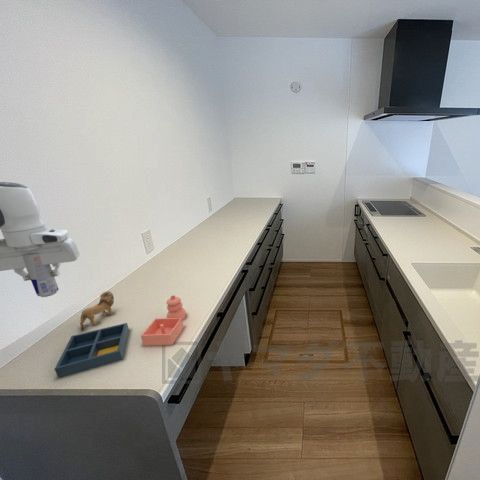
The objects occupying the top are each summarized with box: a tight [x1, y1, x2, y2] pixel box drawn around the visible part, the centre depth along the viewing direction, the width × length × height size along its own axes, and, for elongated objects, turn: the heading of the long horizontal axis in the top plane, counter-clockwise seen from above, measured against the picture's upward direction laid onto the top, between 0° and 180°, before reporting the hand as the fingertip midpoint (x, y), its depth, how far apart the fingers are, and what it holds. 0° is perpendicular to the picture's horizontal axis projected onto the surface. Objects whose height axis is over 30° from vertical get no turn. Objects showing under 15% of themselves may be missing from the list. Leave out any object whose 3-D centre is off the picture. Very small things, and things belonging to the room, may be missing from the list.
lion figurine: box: [79, 290, 115, 332], centre depth 100 cm, size 15×5×9 cm, turn 175°
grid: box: [54, 322, 130, 379], centre depth 85 cm, size 15×15×4 cm
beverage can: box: [22, 253, 59, 298], centre depth 83 cm, size 5×5×15 cm
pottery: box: [140, 294, 187, 346], centre depth 96 cm, size 18×10×10 cm, turn 3°
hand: (42, 277), depth 83 cm, fingers closed on beverage can, 5 cm apart
